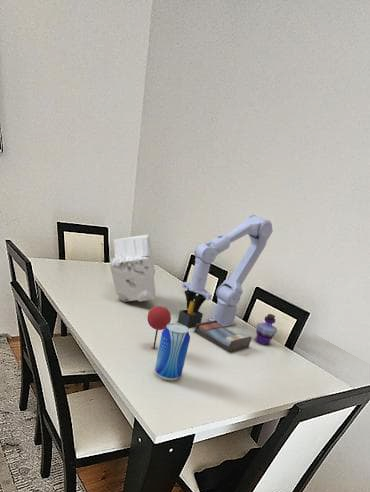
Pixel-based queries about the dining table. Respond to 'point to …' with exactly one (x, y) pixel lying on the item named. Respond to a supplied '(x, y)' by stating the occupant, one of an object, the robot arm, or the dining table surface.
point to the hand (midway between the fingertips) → (192, 310)
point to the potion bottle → (266, 330)
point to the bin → (189, 318)
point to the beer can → (172, 351)
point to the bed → (222, 336)
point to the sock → (191, 308)
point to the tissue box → (133, 268)
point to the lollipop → (158, 319)
